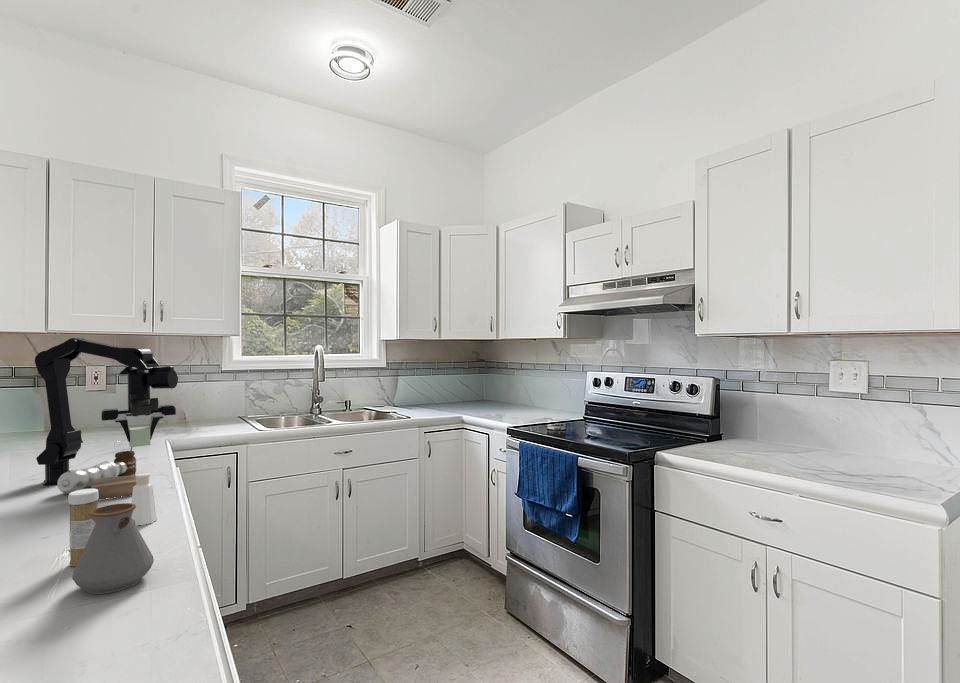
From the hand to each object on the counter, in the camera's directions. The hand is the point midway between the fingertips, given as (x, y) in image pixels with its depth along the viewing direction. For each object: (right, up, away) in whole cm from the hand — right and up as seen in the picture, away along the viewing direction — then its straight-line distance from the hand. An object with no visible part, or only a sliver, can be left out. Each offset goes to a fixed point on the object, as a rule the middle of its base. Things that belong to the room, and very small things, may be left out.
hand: (139, 440), depth 161 cm
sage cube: (0, -1, 0) cm, 1 cm away
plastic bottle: (-10, -9, -16) cm, 21 cm away
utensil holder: (-9, -12, +8) cm, 17 cm away
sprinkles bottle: (+29, -12, -61) cm, 69 cm away
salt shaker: (+25, -12, -38) cm, 48 cm away
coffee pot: (+44, -12, -74) cm, 87 cm away
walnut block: (+2, -12, -15) cm, 19 cm away
